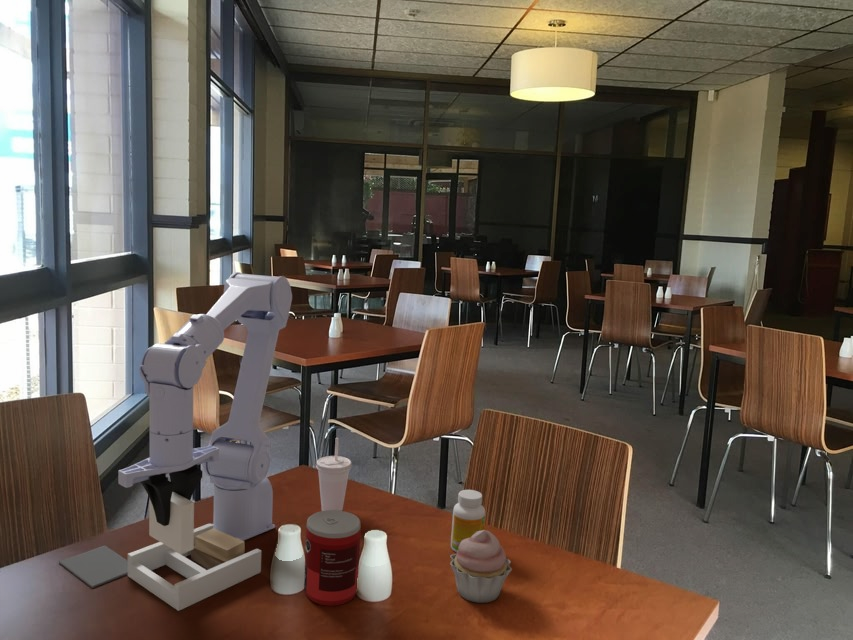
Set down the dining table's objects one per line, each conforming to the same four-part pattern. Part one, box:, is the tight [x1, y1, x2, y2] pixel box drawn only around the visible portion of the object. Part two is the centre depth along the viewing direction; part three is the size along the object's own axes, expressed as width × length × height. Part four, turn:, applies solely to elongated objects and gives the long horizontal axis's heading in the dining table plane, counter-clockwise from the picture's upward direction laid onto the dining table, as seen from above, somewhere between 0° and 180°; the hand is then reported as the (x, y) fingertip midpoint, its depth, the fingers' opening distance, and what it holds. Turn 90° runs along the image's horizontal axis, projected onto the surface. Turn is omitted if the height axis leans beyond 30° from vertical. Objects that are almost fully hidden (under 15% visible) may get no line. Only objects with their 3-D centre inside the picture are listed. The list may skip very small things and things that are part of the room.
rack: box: [127, 522, 262, 612], centre depth 102 cm, size 14×13×4 cm
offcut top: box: [195, 528, 246, 562], centre depth 105 cm, size 4×7×2 cm, turn 59°
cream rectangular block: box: [148, 492, 195, 554], centre depth 97 cm, size 2×8×7 cm, turn 52°
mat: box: [58, 545, 128, 589], centre depth 102 cm, size 7×10×1 cm
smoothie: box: [315, 437, 352, 511], centre depth 125 cm, size 6×6×14 cm
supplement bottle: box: [450, 489, 486, 554], centre depth 114 cm, size 5×5×10 cm
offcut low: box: [190, 545, 225, 570], centre depth 105 cm, size 4×9×2 cm, turn 51°
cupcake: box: [449, 529, 513, 604], centre depth 101 cm, size 9×9×10 cm
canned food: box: [303, 510, 362, 607], centre depth 99 cm, size 8×8×11 cm
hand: (171, 520), depth 97 cm, fingers closed on cream rectangular block, 2 cm apart
